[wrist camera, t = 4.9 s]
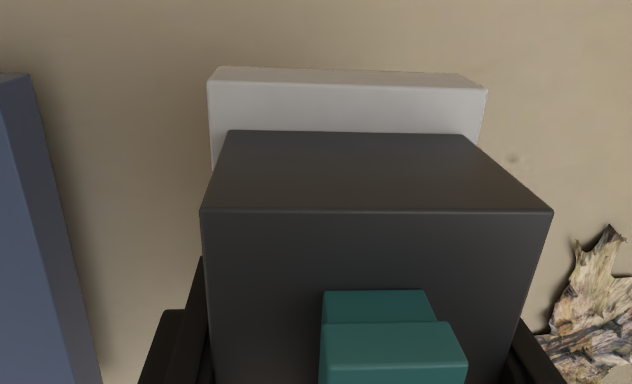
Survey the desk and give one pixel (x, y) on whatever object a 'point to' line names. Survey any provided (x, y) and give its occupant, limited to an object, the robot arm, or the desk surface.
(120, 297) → the desk surface
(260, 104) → the iron
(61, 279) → the blue rectangular board
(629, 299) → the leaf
